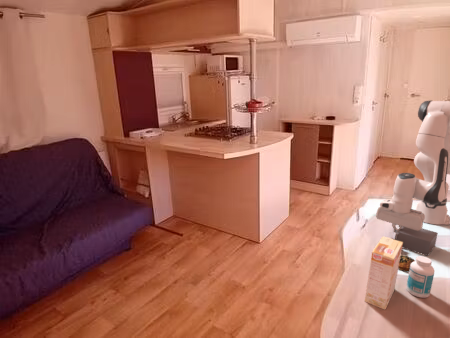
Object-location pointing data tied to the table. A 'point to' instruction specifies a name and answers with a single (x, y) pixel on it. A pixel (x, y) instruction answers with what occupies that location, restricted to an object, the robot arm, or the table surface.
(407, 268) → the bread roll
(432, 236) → the block
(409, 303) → the table surface
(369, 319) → the table surface
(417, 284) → the pill bottle
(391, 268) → the coffeecake box
